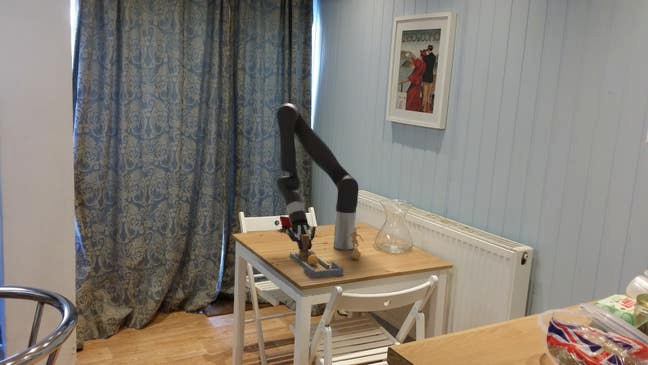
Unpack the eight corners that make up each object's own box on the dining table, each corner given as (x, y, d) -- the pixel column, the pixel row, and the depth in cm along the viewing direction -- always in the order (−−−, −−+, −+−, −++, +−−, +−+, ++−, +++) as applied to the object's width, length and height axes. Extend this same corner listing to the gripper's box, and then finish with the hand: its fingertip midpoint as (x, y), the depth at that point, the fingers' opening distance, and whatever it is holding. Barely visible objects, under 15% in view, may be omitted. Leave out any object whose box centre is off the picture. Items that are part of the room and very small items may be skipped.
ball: (315, 262, 237) (316, 252, 237) (319, 266, 233) (320, 255, 233) (305, 263, 236) (306, 253, 235) (310, 267, 232) (310, 256, 231)
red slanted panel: (309, 229, 293) (310, 215, 291) (301, 233, 283) (302, 219, 282) (287, 225, 297) (288, 211, 296) (278, 230, 287) (279, 215, 286)
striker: (307, 254, 247) (309, 233, 245) (314, 259, 240) (315, 237, 239) (294, 255, 245) (296, 233, 243) (301, 260, 238) (302, 238, 236)
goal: (333, 268, 232) (334, 261, 231) (342, 275, 224) (343, 268, 223) (304, 271, 226) (304, 263, 226) (312, 278, 219) (312, 270, 218)
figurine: (350, 261, 241) (352, 234, 239) (342, 257, 247) (344, 231, 244) (366, 259, 246) (368, 233, 244) (358, 255, 251) (360, 229, 249)
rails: (310, 254, 249) (310, 250, 249) (329, 268, 231) (329, 264, 231) (289, 255, 245) (289, 252, 245) (307, 270, 227) (307, 266, 227)
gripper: (284, 210, 244) (293, 245, 235) (314, 209, 250) (324, 243, 241) (279, 219, 250) (287, 254, 241) (309, 218, 256) (318, 252, 247)
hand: (305, 248), depth 241 cm, fingers closed on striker, 3 cm apart
